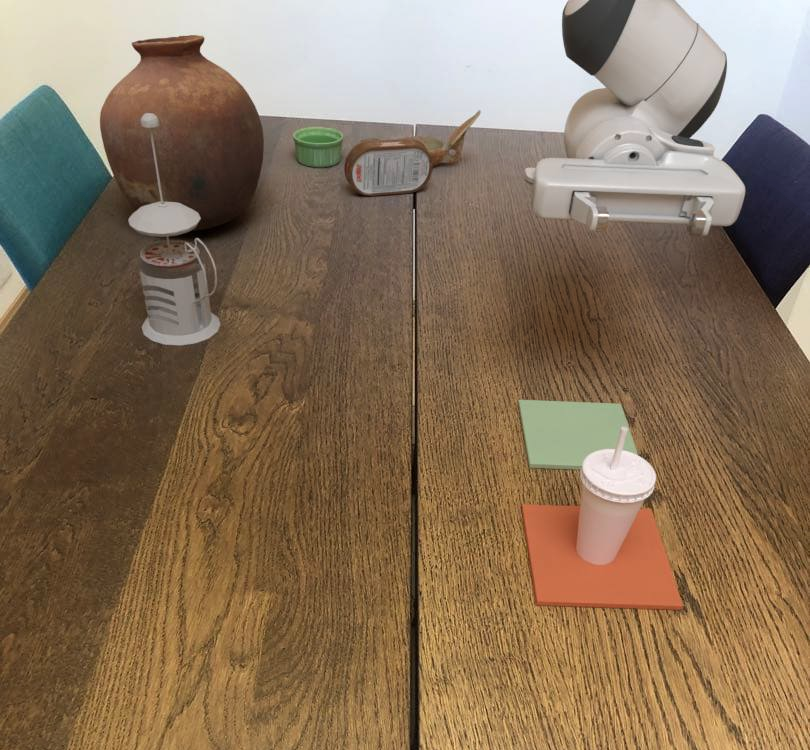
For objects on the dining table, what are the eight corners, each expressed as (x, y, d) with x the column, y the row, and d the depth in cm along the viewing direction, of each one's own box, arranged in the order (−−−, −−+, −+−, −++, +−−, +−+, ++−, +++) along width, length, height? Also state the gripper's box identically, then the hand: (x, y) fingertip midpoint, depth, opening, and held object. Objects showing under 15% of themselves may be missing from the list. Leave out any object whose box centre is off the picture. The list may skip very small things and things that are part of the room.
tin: (427, 186, 142) (430, 135, 137) (433, 193, 140) (436, 141, 134) (343, 193, 138) (343, 140, 133) (348, 200, 136) (348, 147, 131)
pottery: (227, 263, 117) (206, 68, 100) (88, 234, 122) (45, 43, 105) (293, 207, 133) (285, 30, 116) (167, 183, 138) (142, 10, 121)
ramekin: (293, 151, 152) (292, 126, 149) (342, 152, 153) (342, 127, 150) (294, 169, 145) (293, 143, 142) (344, 169, 146) (344, 143, 143)
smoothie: (558, 526, 79) (587, 404, 69) (624, 529, 79) (662, 408, 69) (566, 573, 74) (598, 450, 65) (636, 577, 74) (678, 455, 65)
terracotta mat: (649, 513, 82) (651, 508, 82) (681, 610, 73) (683, 605, 72) (521, 508, 82) (522, 503, 81) (536, 605, 72) (537, 601, 72)
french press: (182, 299, 109) (151, 93, 92) (247, 327, 105) (227, 117, 87) (124, 327, 103) (80, 113, 86) (190, 359, 99) (157, 139, 81)
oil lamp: (472, 178, 146) (478, 117, 139) (355, 165, 148) (355, 105, 141) (477, 161, 152) (483, 103, 146) (365, 149, 154) (366, 91, 148)
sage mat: (620, 407, 95) (621, 403, 95) (641, 472, 87) (642, 467, 86) (517, 403, 95) (518, 399, 95) (529, 468, 86) (529, 463, 86)
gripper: (525, 134, 82) (542, 185, 72) (726, 143, 83) (771, 195, 73) (517, 198, 86) (532, 254, 76) (708, 205, 87) (748, 262, 77)
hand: (650, 225), depth 74 cm, fingers open, 8 cm apart
